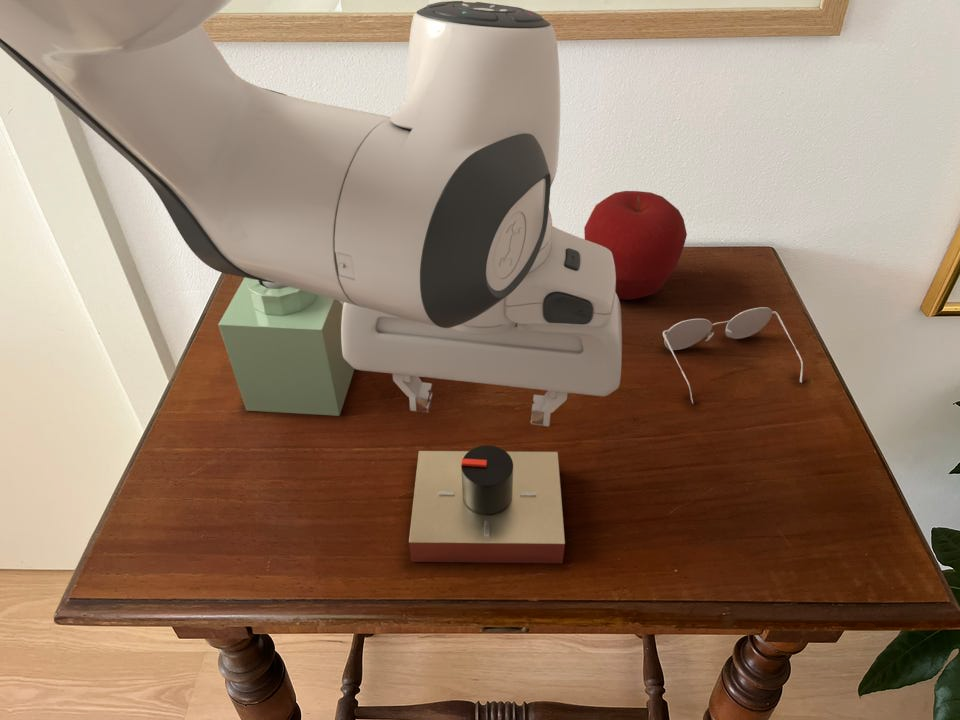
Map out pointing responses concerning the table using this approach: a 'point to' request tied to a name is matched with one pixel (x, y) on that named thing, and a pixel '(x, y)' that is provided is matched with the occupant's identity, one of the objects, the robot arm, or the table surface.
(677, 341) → the sunglasses
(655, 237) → the apple
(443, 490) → the panel
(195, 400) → the table surface
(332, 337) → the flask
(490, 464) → the knob
